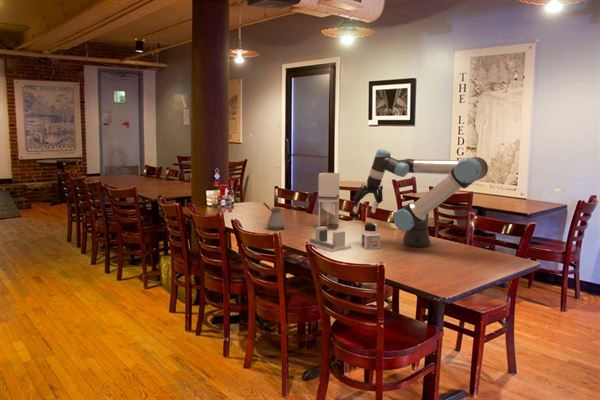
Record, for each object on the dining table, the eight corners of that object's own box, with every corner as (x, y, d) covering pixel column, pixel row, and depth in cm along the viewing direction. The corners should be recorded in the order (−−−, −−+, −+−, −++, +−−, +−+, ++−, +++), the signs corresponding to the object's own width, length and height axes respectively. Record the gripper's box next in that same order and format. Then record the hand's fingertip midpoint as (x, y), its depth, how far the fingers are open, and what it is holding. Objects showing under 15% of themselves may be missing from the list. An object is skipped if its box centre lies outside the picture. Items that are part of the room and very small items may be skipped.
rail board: (351, 248, 283) (351, 230, 281) (331, 251, 274) (331, 234, 273) (328, 241, 298) (328, 225, 296) (308, 245, 289) (309, 228, 288)
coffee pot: (288, 229, 332) (288, 206, 329) (272, 231, 325) (272, 207, 323) (271, 224, 349) (271, 201, 347) (255, 225, 343) (255, 203, 341)
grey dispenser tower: (317, 229, 332) (318, 174, 327) (321, 226, 342) (321, 172, 337) (335, 230, 329) (336, 174, 324) (338, 227, 340) (339, 173, 334)
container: (366, 249, 280) (367, 225, 278) (361, 246, 288) (361, 222, 286) (379, 248, 282) (380, 224, 281) (374, 245, 290) (374, 222, 288)
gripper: (387, 175, 298) (375, 209, 305) (354, 173, 283) (342, 208, 290) (396, 181, 292) (384, 215, 299) (362, 178, 278) (350, 214, 285)
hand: (363, 212), depth 295 cm, fingers open, 13 cm apart
